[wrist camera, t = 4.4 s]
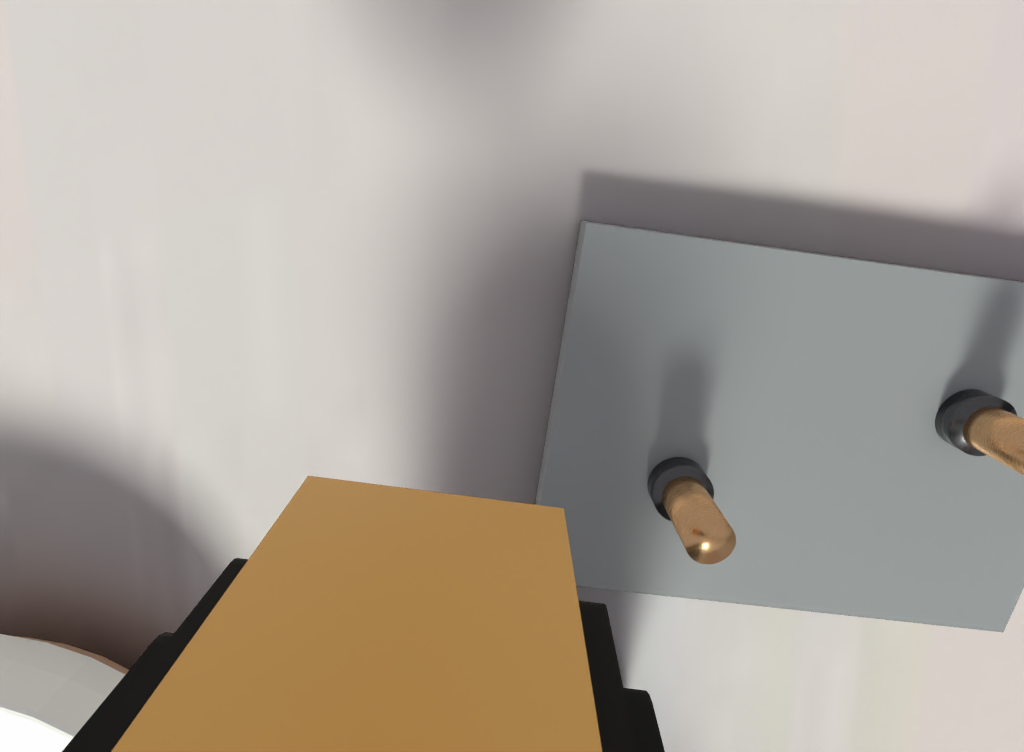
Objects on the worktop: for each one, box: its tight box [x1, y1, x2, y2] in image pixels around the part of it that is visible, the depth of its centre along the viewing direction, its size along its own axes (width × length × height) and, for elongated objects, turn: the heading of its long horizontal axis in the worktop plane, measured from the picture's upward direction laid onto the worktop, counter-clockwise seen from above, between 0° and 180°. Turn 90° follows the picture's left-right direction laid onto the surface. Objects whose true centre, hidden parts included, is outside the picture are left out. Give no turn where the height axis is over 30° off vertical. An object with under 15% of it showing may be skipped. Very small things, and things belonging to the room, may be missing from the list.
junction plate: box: [535, 221, 1024, 632], centre depth 23 cm, size 20×14×2 cm
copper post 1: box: [647, 457, 736, 564], centre depth 22 cm, size 2×2×6 cm
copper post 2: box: [935, 389, 1024, 475], centre depth 21 cm, size 2×2×6 cm
